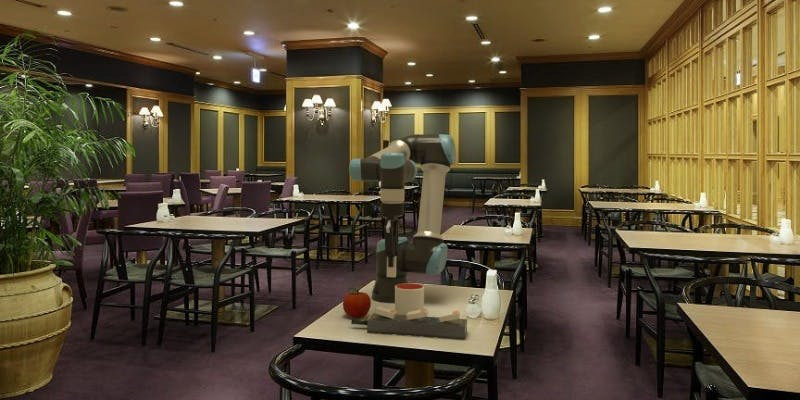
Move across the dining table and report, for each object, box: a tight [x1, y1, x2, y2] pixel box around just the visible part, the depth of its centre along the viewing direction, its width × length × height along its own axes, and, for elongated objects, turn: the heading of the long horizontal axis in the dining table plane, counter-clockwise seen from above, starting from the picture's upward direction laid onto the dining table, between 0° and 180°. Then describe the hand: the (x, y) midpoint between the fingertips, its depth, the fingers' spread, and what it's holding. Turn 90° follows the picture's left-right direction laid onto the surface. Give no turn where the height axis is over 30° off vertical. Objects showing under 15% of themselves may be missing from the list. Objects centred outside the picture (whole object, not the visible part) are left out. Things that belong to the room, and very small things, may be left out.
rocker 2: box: [407, 308, 429, 320], centre depth 181 cm, size 4×6×2 cm, turn 79°
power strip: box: [351, 312, 468, 341], centre depth 182 cm, size 8×36×4 cm, turn 79°
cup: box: [394, 282, 425, 315], centre depth 201 cm, size 10×10×10 cm
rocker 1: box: [374, 305, 397, 319], centre depth 183 cm, size 4×6×2 cm, turn 79°
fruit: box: [342, 287, 372, 319], centre depth 198 cm, size 10×10×10 cm
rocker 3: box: [438, 310, 461, 322], centre depth 179 cm, size 4×6×2 cm, turn 79°
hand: (391, 276), depth 185 cm, fingers closed
